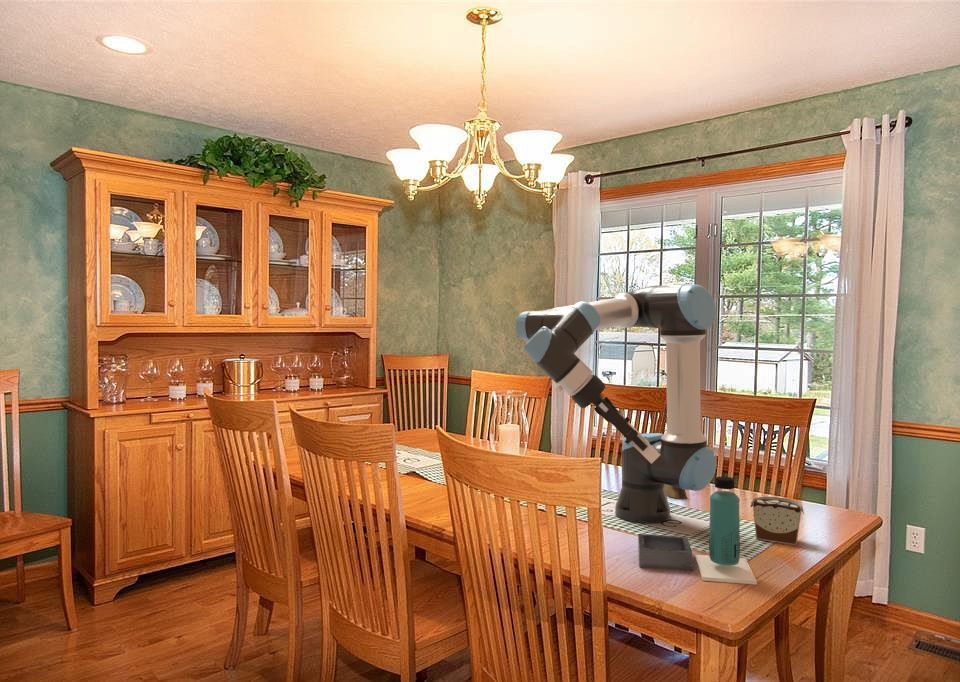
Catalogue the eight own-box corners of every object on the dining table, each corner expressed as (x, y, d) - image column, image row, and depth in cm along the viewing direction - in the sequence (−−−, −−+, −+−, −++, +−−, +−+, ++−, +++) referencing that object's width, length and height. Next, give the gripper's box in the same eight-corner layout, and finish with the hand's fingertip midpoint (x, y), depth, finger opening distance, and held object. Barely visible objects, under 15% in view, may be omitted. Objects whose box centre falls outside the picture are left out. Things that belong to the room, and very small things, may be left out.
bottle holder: (638, 550, 165) (638, 533, 165) (687, 553, 163) (687, 536, 163) (639, 567, 154) (639, 549, 154) (692, 571, 152) (692, 553, 152)
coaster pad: (695, 557, 160) (695, 554, 160) (745, 561, 158) (745, 557, 158) (702, 580, 146) (702, 576, 146) (756, 584, 144) (756, 580, 144)
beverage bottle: (737, 574, 148) (738, 482, 147) (705, 569, 151) (706, 478, 150) (742, 565, 153) (743, 476, 152) (711, 559, 157) (712, 472, 156)
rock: (643, 483, 222) (653, 487, 212) (658, 462, 223) (669, 464, 213) (670, 504, 222) (681, 508, 212) (685, 482, 223) (697, 485, 213)
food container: (805, 539, 174) (806, 500, 173) (803, 546, 168) (803, 505, 168) (753, 531, 180) (754, 493, 180) (749, 538, 175) (750, 499, 174)
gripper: (566, 390, 166) (629, 452, 165) (573, 404, 141) (647, 477, 140) (589, 368, 165) (652, 430, 165) (599, 378, 140) (674, 452, 140)
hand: (650, 452), depth 152 cm, fingers open, 13 cm apart
